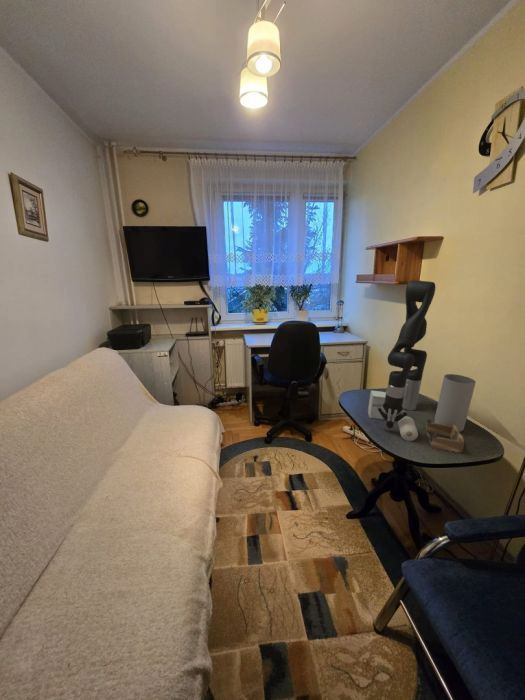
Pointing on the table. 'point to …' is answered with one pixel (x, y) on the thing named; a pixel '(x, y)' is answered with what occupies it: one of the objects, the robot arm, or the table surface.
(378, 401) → the supplement box
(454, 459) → the table surface
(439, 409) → the cylinder vase
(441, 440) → the oak cradle
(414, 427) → the paper roll
